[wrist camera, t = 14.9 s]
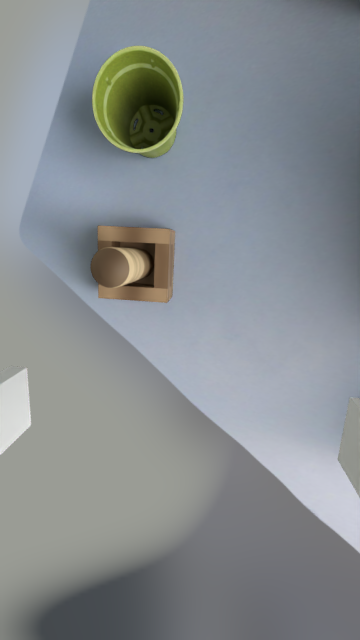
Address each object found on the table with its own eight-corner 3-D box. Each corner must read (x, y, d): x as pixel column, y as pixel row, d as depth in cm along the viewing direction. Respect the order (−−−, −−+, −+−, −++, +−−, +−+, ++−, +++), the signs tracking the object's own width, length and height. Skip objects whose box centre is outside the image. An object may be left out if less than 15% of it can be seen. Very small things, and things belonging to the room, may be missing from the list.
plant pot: (200, 105, 38) (197, 65, 29) (174, 182, 40) (164, 165, 32) (130, 78, 38) (107, 30, 30) (108, 157, 40) (81, 133, 32)
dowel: (154, 249, 41) (129, 248, 29) (153, 279, 42) (129, 290, 30) (125, 247, 41) (89, 245, 29) (124, 277, 42) (89, 287, 30)
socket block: (175, 231, 42) (170, 228, 37) (172, 296, 44) (167, 302, 39) (110, 228, 42) (97, 225, 38) (111, 292, 44) (98, 297, 40)
